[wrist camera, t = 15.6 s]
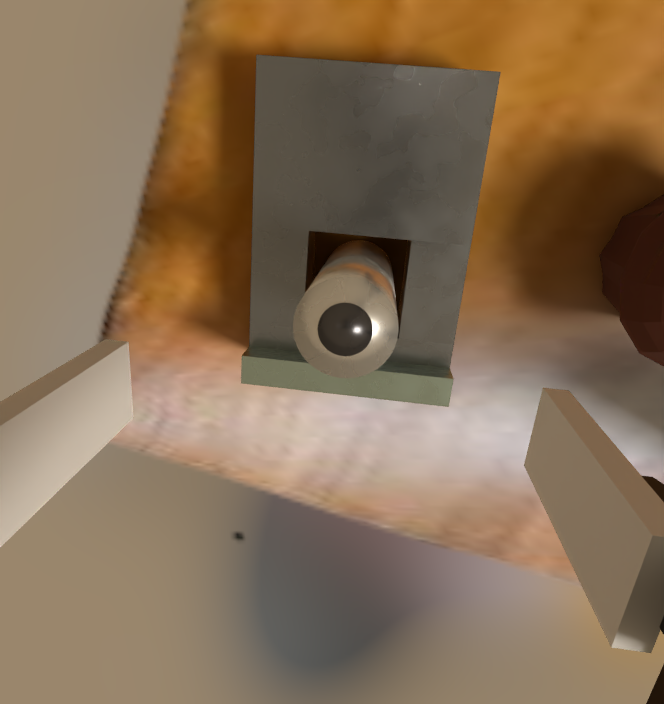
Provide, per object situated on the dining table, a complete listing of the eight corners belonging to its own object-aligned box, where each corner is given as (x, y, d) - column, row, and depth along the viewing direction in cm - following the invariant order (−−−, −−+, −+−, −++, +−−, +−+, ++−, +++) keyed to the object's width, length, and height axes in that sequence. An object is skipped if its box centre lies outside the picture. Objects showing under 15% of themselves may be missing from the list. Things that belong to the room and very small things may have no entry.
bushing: (327, 237, 36) (295, 272, 23) (396, 243, 36) (405, 283, 22) (322, 304, 38) (289, 373, 24) (388, 310, 37) (391, 384, 24)
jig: (271, 68, 33) (247, 46, 27) (486, 84, 32) (509, 64, 26) (261, 353, 40) (241, 383, 34) (438, 373, 39) (448, 406, 33)
